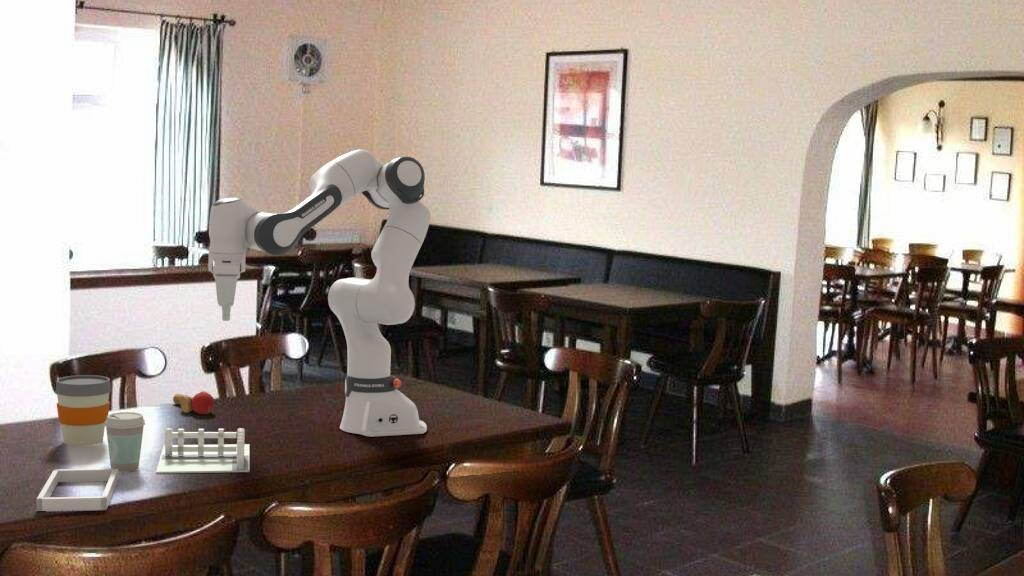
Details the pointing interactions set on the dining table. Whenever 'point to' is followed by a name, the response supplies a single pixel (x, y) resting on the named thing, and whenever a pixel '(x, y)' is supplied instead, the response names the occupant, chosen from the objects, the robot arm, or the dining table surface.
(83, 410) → the reusable coffee cup
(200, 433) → the white toy fence
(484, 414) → the dining table surface
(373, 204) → the robot arm
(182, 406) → the kendama
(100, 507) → the rim
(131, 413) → the coffee cup
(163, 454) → the card
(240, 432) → the fence fixed
